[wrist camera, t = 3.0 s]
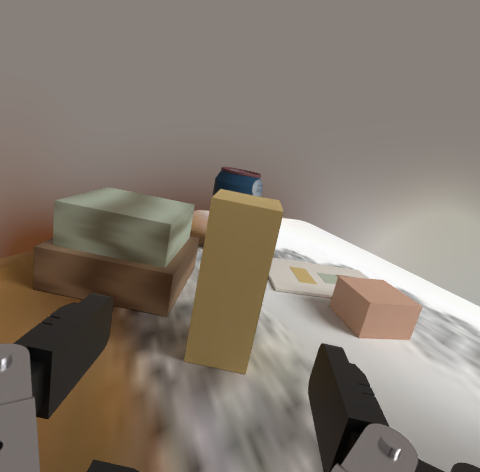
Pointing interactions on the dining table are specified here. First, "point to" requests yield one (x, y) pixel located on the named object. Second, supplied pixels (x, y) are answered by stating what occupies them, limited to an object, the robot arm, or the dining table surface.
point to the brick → (374, 308)
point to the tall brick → (232, 279)
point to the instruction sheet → (307, 277)
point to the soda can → (238, 181)
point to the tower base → (113, 277)
